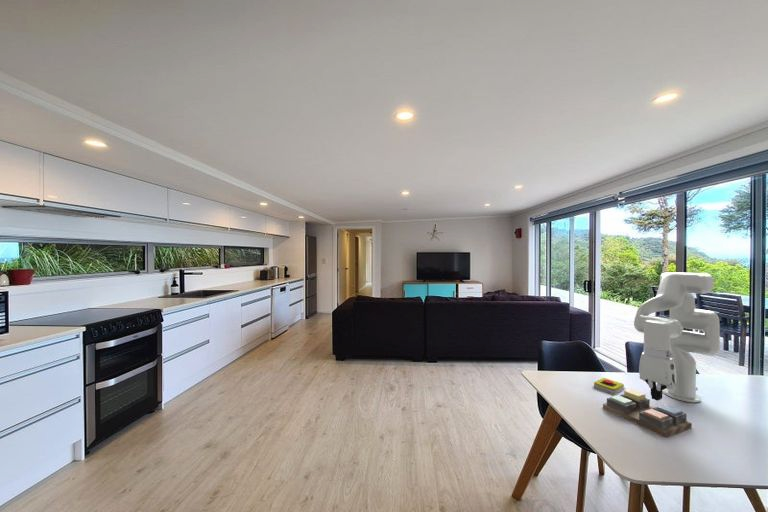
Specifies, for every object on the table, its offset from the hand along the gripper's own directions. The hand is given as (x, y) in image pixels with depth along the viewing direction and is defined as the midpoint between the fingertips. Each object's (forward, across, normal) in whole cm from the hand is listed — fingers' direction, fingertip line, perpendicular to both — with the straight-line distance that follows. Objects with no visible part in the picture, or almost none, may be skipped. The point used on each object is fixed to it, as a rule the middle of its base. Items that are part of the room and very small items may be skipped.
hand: (656, 398), depth 114 cm
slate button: (+9, 0, -8) cm, 12 cm away
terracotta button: (+9, 0, +1) cm, 9 cm away
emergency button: (+13, +28, -19) cm, 36 cm away
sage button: (+9, +12, +1) cm, 15 cm away
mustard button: (+8, +12, -8) cm, 17 cm away
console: (+11, +6, -4) cm, 13 cm away
